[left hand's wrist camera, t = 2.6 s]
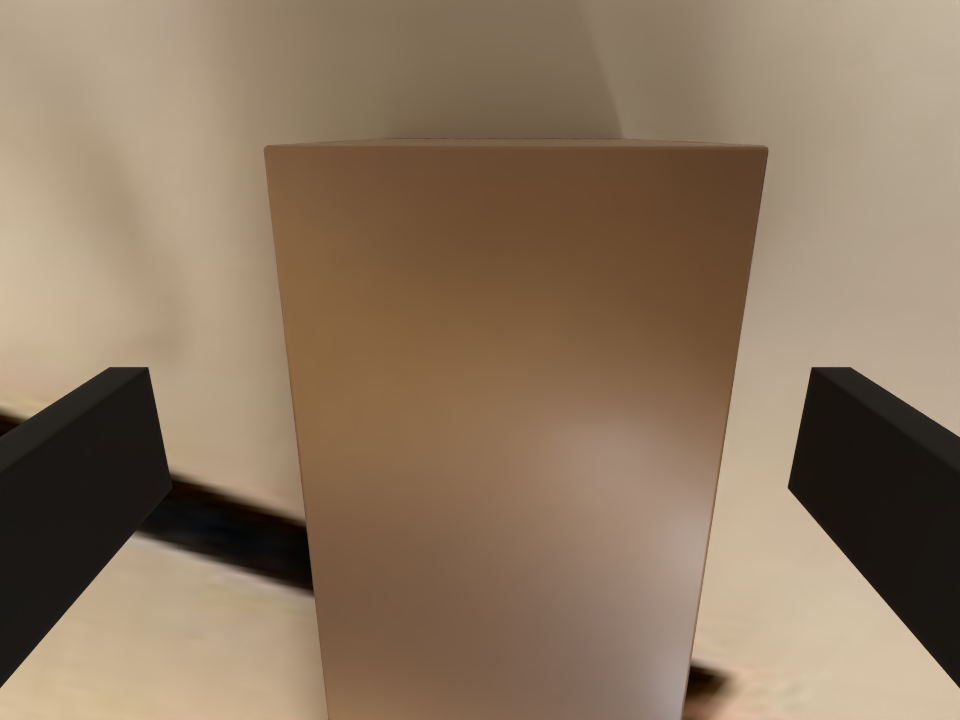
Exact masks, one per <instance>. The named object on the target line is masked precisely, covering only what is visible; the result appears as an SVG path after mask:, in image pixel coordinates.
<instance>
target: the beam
mask: <svg viewBox="0 0 960 720" xmlns="http://www.w3.org/2000/svg"><path fill="white" fill-rule="evenodd" d="M767 156H768V147H766V146H762V145H741V144H721V143H700V142H679V141H659V140H638V139H371V140H353V141H336V142H318V143H301V144H284V145H268V146H266V147H265V148H264V157H265V165H266V174H267V183H268V192H269V200H270V209H271V218H272V227H273V236H274V244H275V253H276V262H277V271H278V280H279V288H280V297H281V306H282V315H283V323H284V332H285V341H286V350H287V359H288V367H289V376H290V385H291V394H292V402H293V411H294V420H295V429H296V438H297V446H298V455H299V464H300V473H301V481H302V490H303V499H304V508H305V517H306V525H307V534H308V543H309V552H310V560H311V569H312V578H313V587H314V596H315V604H316V613H317V622H318V631H319V640H320V648H321V657H322V666H323V675H324V683H325V692H326V701H327V710H328V719H329V720H682V716H683V709H684V703H685V696H686V689H687V683H688V676H689V670H690V663H691V657H692V650H693V643H694V637H695V630H696V624H697V617H698V610H699V604H700V597H701V591H702V584H703V578H704V571H705V564H706V558H707V551H708V545H709V538H710V532H711V525H712V518H713V512H714V505H715V499H716V492H717V485H718V479H719V472H720V466H721V459H722V453H723V446H724V439H725V433H726V426H727V420H728V413H729V406H730V400H731V393H732V387H733V380H734V374H735V367H736V360H737V354H738V347H739V341H740V334H741V328H742V321H743V314H744V308H745V301H746V295H747V288H748V281H749V275H750V268H751V262H752V255H753V249H754V242H755V235H756V229H757V222H758V216H759V209H760V203H761V196H762V189H763V183H764V176H765V170H766V163H767Z"/></svg>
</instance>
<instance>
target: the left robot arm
mask: <svg viewBox="0 0 960 720" xmlns="http://www.w3.org/2000/svg"><path fill="white" fill-rule="evenodd" d="M171 489H172V484H171V479H170V474H169V469H168V464H167V459H166V454H165V449H164V444H163V439H162V434H161V429H160V424H159V419H158V414H157V409H156V404H155V399H154V394H153V389H152V384H151V379H150V374H149V369H148V367H109V368H108V369H106V370H105V371H103V372H101V373H100V374H98V375H97V376H95V377H94V378H92V379H90V380H89V381H87V382H86V383H84V384H83V385H81V386H80V387H78V388H76V389H75V390H73V391H72V392H70V393H69V394H67V395H65V396H64V397H62V398H61V399H59V400H58V401H56V402H55V403H53V404H51V405H50V406H48V407H47V408H45V409H44V410H42V411H41V412H39V413H37V414H36V415H34V416H33V417H31V418H30V419H28V420H26V421H25V422H23V423H22V424H20V425H19V426H17V427H16V428H14V429H12V430H11V431H9V432H8V433H6V434H5V435H3V436H1V437H0V688H1V687H2V686H3V684H4V683H5V682H6V681H7V680H8V679H9V677H10V676H11V675H12V674H13V673H14V672H15V670H16V669H17V668H18V667H19V666H20V665H21V663H22V662H23V661H24V660H25V659H26V658H27V656H28V655H29V654H30V653H31V652H32V651H33V649H34V648H35V647H36V646H37V645H38V644H39V642H40V641H41V640H42V639H43V638H44V637H45V636H46V634H47V633H48V632H49V631H50V630H51V629H52V627H53V626H54V625H55V624H56V623H57V622H58V620H59V619H60V618H61V617H62V616H63V615H64V613H65V612H66V611H67V610H68V609H69V608H70V606H71V605H72V604H73V603H74V602H75V601H76V599H77V598H78V597H79V596H80V595H81V594H82V592H83V591H84V590H85V589H86V588H87V587H88V585H89V584H90V583H91V582H92V581H93V580H94V579H95V577H96V576H97V575H98V574H99V573H100V572H101V570H102V569H103V568H104V567H105V566H106V565H107V563H108V562H109V561H110V560H111V559H112V558H113V556H114V555H115V554H116V553H117V552H118V551H119V549H120V548H121V547H122V546H123V545H124V544H125V542H126V541H127V540H128V539H129V538H130V537H131V535H132V534H133V533H134V532H135V531H136V530H137V528H138V527H139V526H140V525H141V524H142V523H143V521H144V520H145V519H146V518H147V517H148V516H149V515H150V513H151V512H152V511H153V510H154V509H155V508H156V506H157V505H158V504H159V503H160V502H161V501H162V499H163V498H164V497H165V496H166V495H167V494H168V492H169V491H170V490H171ZM788 489H789V490H790V491H791V492H792V494H793V495H794V496H795V497H796V498H797V499H798V501H799V502H800V503H801V504H802V505H803V506H804V508H805V509H806V510H807V511H808V512H809V513H810V515H811V516H812V517H813V518H814V519H815V520H816V521H817V523H818V524H819V525H820V526H821V527H822V528H823V530H824V531H825V532H826V533H827V534H828V535H829V537H830V538H831V539H832V540H833V541H834V542H835V544H836V545H837V546H838V547H839V548H840V549H841V551H842V552H843V553H844V554H845V555H846V556H847V558H848V559H849V560H850V561H851V562H852V563H853V565H854V566H855V567H856V568H857V569H858V570H859V572H860V573H861V574H862V575H863V576H864V577H865V579H866V580H867V581H868V582H869V583H870V584H871V585H872V587H873V588H874V589H875V590H876V591H877V592H878V594H879V595H880V596H881V597H882V598H883V599H884V601H885V602H886V603H887V604H888V605H889V606H890V608H891V609H892V610H893V611H894V612H895V613H896V615H897V616H898V617H899V618H900V619H901V620H902V622H903V623H904V624H905V625H906V626H907V627H908V629H909V630H910V631H911V632H912V633H913V634H914V636H915V637H916V638H917V639H918V640H919V641H920V643H921V644H922V645H923V646H924V647H925V648H926V649H927V651H928V652H929V653H930V654H931V655H932V656H933V658H934V659H935V660H936V661H937V662H938V663H939V665H940V666H941V667H942V668H943V669H944V670H945V672H946V673H947V674H948V675H949V676H950V677H951V679H952V680H953V681H954V682H955V683H956V684H957V686H958V687H959V688H960V437H959V436H957V435H955V434H954V433H952V432H951V431H949V430H948V429H946V428H944V427H943V426H941V425H940V424H938V423H937V422H935V421H934V420H932V419H930V418H929V417H927V416H926V415H924V414H923V413H921V412H919V411H918V410H916V409H915V408H913V407H912V406H910V405H909V404H907V403H905V402H904V401H902V400H901V399H899V398H898V397H896V396H895V395H893V394H891V393H890V392H888V391H887V390H885V389H884V388H882V387H880V386H879V385H877V384H876V383H874V382H873V381H871V380H870V379H868V378H866V377H865V376H863V375H862V374H860V373H859V372H857V371H855V370H854V369H852V368H851V367H812V369H811V374H810V379H809V384H808V389H807V394H806V399H805V404H804V409H803V414H802V419H801V424H800V429H799V434H798V439H797V444H796V449H795V454H794V459H793V464H792V469H791V474H790V479H789V484H788Z"/></svg>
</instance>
